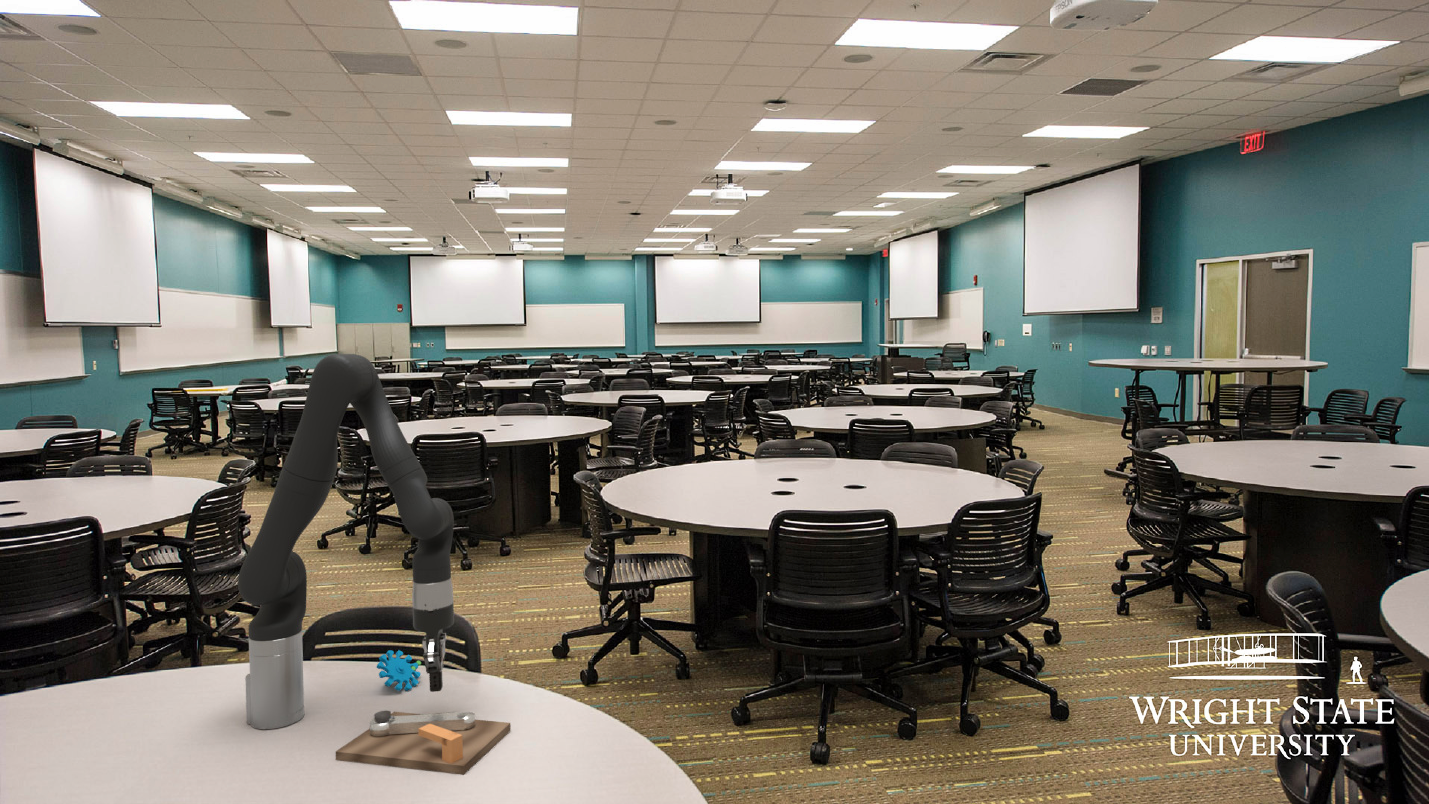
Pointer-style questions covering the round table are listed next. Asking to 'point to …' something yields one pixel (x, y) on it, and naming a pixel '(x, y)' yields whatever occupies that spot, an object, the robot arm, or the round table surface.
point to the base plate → (422, 747)
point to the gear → (399, 670)
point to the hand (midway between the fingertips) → (436, 690)
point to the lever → (422, 723)
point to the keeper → (444, 741)
